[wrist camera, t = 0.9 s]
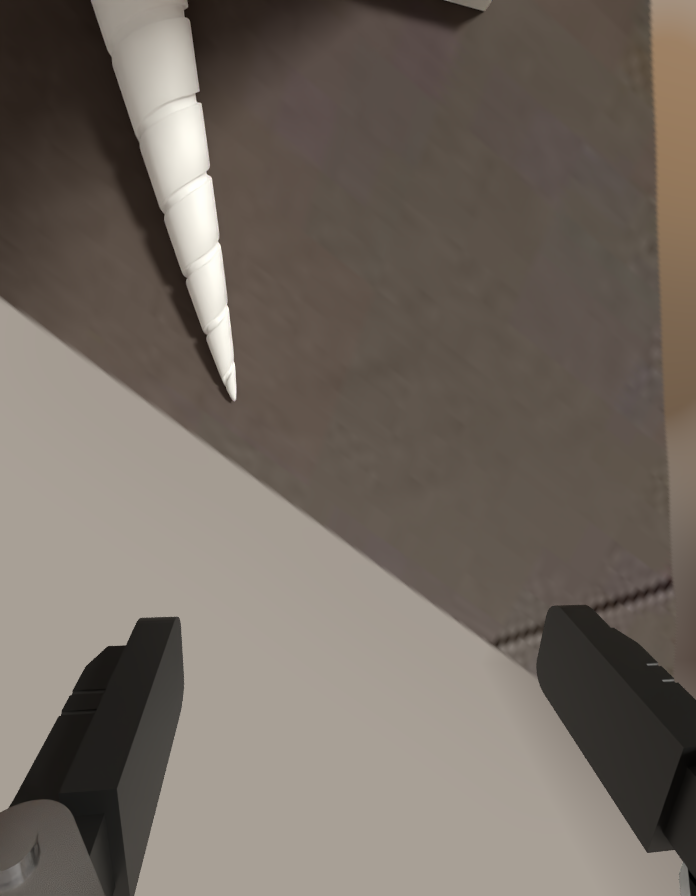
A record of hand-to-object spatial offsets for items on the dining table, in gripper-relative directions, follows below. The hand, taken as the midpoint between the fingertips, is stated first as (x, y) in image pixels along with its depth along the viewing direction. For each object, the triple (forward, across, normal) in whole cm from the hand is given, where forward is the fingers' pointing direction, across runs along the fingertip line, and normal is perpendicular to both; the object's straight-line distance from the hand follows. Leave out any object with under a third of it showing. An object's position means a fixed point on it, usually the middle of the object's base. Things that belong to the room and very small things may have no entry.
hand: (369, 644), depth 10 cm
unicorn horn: (+24, +7, -13) cm, 29 cm away
